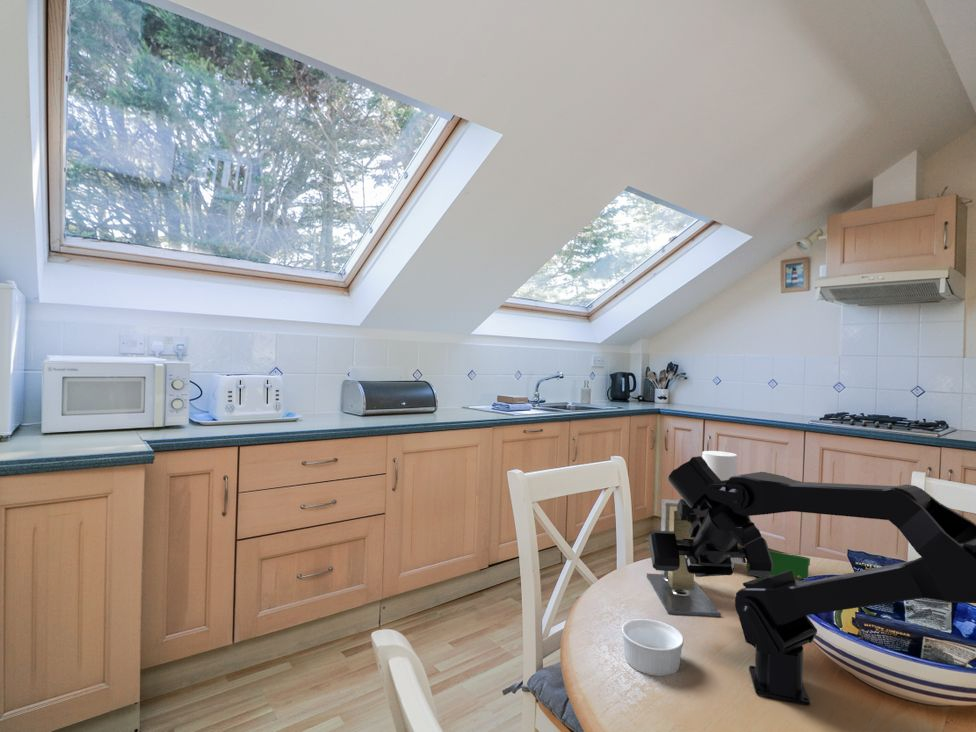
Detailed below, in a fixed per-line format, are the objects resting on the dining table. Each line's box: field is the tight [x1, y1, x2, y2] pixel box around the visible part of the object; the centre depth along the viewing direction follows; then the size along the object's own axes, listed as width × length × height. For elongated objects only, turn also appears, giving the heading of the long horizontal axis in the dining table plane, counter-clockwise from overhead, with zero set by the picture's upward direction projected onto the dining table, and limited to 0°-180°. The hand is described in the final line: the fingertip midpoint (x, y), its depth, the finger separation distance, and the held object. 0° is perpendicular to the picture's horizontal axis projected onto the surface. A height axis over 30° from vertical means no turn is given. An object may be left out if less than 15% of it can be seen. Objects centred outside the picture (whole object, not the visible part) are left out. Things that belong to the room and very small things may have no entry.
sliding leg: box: [668, 506, 695, 591], centre depth 100 cm, size 3×4×16 cm
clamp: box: [745, 549, 811, 580], centre depth 110 cm, size 12×6×9 cm, turn 47°
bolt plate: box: [646, 498, 721, 618], centre depth 100 cm, size 16×9×17 cm, turn 176°
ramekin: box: [621, 618, 685, 677], centre depth 77 cm, size 9×9×4 cm
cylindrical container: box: [701, 450, 738, 570], centre depth 116 cm, size 7×7×25 cm
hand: (697, 574), depth 92 cm, fingers closed
